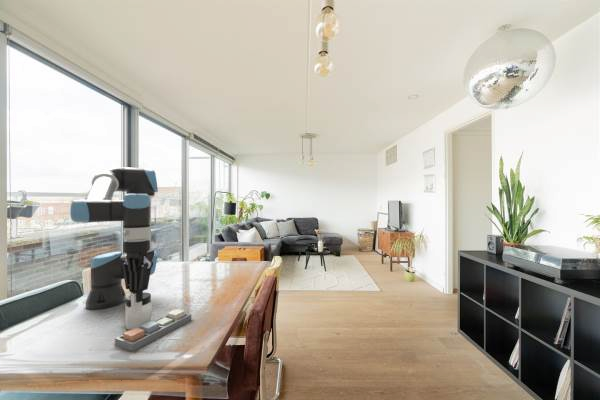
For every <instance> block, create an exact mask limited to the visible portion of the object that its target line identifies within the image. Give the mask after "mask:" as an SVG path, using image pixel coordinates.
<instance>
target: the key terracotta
mask: <svg viewBox="0 0 600 400" xmlns="http://www.w3.org/2000/svg"><path fill="white" fill-rule="evenodd" d="M122 335H123V339H124V340H127V341H130V342H134V341H136V340H138V339H140V338H142V337H144V330H142V329H139V328H134V329H129V330H128V331H126V332H123V333H122Z"/></svg>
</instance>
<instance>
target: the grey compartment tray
mask: <svg viewBox="0 0 600 400" xmlns="http://www.w3.org/2000/svg"><path fill="white" fill-rule="evenodd" d="M162 318H168V313H167V314H166V315H163V316H161V317H159V318H157V319H154V320H153V321H154V322H156V321H158V320H160V319H162ZM169 319H171V318H169ZM193 321H194V320H193V319H192V314H191V313H186V312H185V316H183V317H181V318H179V319H177V320H175V319H173V323H171V324H169V325H167V326H165V327H164V326H160V325H159V329H158V330H156V331H154V332H152V333H150V334H148V333H145V332H144V337H142V338H140V339H138V340H136V341H134V342H130V341H127V340H124V339H123V334H122V335H119V336H117V337H115V338H114V343H112V345H113V346H117V347H120V348H122V349H124V350H128V351H131V352H133V353H136V352H138V351H140V350H142V349H143V348H145V347H147V346H149V345H151V344H154V342H156V341H159V340H160V339H162V338H164V337H166V336H167V335H170V334H172V333H173V332H174V331H176V330H178V329H180V328H183V327H184V326H185V325H188V324H190V323H191V322H193ZM139 329H140V327H139Z"/></svg>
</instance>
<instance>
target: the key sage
mask: <svg viewBox="0 0 600 400" xmlns="http://www.w3.org/2000/svg"><path fill="white" fill-rule="evenodd" d="M156 322H158V323H159V325H160V326H164V327H165V326H167V325H169V324H171V323H173V319H169V318H162V319H160V320H158V321H156Z"/></svg>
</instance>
